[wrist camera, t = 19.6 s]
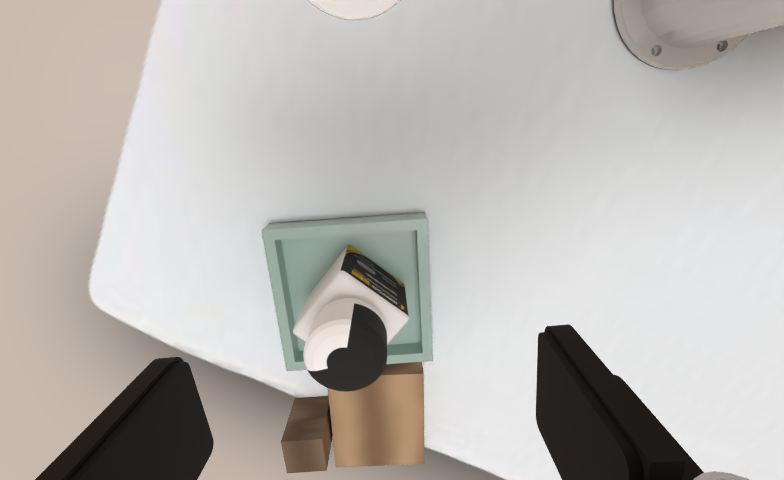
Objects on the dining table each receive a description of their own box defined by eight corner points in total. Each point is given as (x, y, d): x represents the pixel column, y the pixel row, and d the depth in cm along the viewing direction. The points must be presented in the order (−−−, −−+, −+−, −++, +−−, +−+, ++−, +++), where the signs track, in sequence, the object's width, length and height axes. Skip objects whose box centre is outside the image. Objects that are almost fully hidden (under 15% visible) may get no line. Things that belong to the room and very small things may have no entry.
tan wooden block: (420, 356, 41) (423, 373, 38) (421, 441, 45) (424, 463, 42) (330, 359, 41) (326, 377, 38) (339, 445, 45) (335, 467, 42)
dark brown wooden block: (330, 396, 42) (321, 439, 36) (334, 424, 43) (326, 470, 37) (295, 398, 42) (281, 441, 36) (299, 426, 43) (287, 473, 37)
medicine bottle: (406, 284, 37) (415, 354, 26) (363, 333, 39) (355, 420, 27) (348, 242, 36) (332, 298, 24) (307, 295, 37) (273, 371, 26)
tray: (424, 212, 36) (427, 218, 33) (430, 346, 40) (432, 361, 38) (269, 223, 36) (261, 230, 33) (292, 356, 40) (286, 371, 38)
